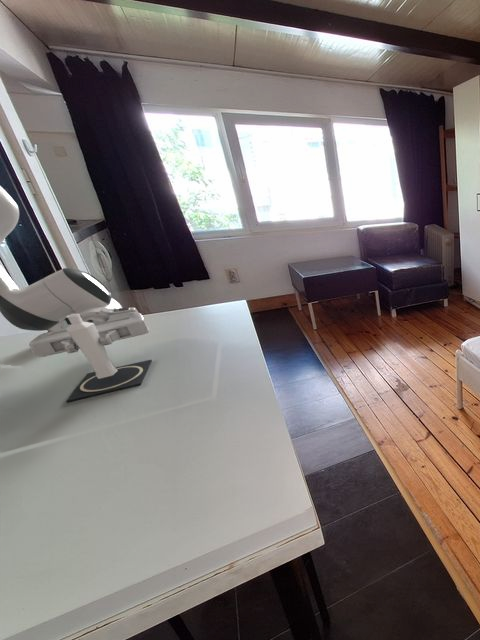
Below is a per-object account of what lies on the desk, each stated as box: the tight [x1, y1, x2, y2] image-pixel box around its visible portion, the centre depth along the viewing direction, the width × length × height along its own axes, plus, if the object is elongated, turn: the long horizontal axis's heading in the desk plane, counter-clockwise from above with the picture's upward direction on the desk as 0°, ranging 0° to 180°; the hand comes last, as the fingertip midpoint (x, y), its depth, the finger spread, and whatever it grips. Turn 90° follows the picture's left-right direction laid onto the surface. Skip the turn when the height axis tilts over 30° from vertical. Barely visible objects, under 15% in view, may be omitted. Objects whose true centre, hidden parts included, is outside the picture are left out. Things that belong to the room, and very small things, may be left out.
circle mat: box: [66, 359, 153, 403], centre depth 88 cm, size 13×14×1 cm
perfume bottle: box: [66, 314, 118, 379], centre depth 82 cm, size 5×4×15 cm
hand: (88, 345), depth 81 cm, fingers closed on perfume bottle, 4 cm apart
